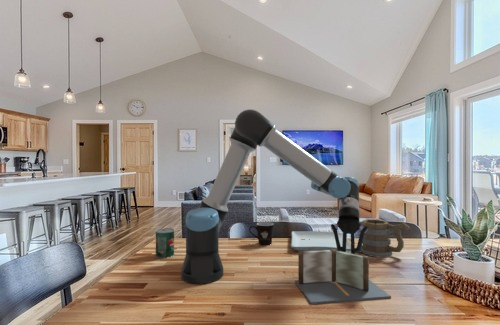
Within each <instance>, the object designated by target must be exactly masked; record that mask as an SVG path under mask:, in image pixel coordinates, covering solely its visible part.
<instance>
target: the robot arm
mask: <svg viewBox="0 0 500 325" xmlns="http://www.w3.org/2000/svg"><path fill="white" fill-rule="evenodd" d="M229 141H230V146H229V148H228V151H227V153H226V155H225V157H224V159H223V162H222V163H221V167H220V168H219V171H218V173H217V175H216V178H215V179H214V182H213V184H212V186H211V188H210V191H209V193H208V195H207V197H205V198H202V199H201V203H200V204H199V206H198V207H197V208H194V209H191V210H189V211H188V212H187V213H186V215H185V221H184V222H185V256H184V259H183V263H182V266H181V270H180V278H181V280H182V281H184V282H186V283H189V284H197V285H199V284H201V285H202V284H208V283H213V282H215V281H218V280H220V279H221V278H222V277H223V276H224V266H223V262H222V260H221V257H220V253H219V252H220V251H219V232H220V230H221V228H222V227H223V225H224V221H225V220H226V217H227V214H228V212H229V208H228V203H229V201H230V199H231V197H232V194H233V193H234V192H233V191H234V190H235V188H236V186H237V183H238V181H239V179H240V177H241V175H242V172H243V170H244V167H245V164H246V163H247V160H248V159H249V156H250V154H251V153H252V152H255V151H256V150H257V147H258V146H259V147H264V148H265V149H267V150H268V151H269V152H271V153H272V154H274V155H275V156H276V157H278V158H279V159H280V160H282V161H283V162H285V163H286V164H288V165H289V166H290V167H292V168H293V169H294V170H295V171H297V172H298V173H300V174H301V175H303V176H304V177H305V178H306V179H308V180H310V181H311V182H310V187H311V188H312V190H315V191H317V192H319V193H320V192H321V193H323V194H326V195H328V196H330V197H333V198H335V199H338V200H339V202H338V218H337V222H336V223H335V224H333V223H331V225H330V229H331V232H333V233H334V236H335V241H336V246H337V250H338V251H341V252H346V253H351V254H356V255H357V254H360V253H361V247H362V245H363V239H364V235H365V234H366V233H367V227H366V226H365V227H363V226H362V223H361V221H360V186H359V181H358V180H357V179H356V178H355V177H353V176H344V177H343V176H339V175H338V174H337V173H335V171H333V170H332V169H330V168H329V167H327V166H326V165H325V164H324V163H322V162H321V161H320V160H318V159H316V158H315V157H314V156H313V155H311V154H310V153H309V152H307V151H306V150H305V149H303V148H302V147H300V145H298V144H297V143H295V142H294V141H293V140H291V139H290V138H288V137H287V136H286V135H284V134H283V133H282V132H281V131H279V130H278V129H277V126H276V125H275V123H273V122H271V121H270V120H269V119H268V118H267V117H265V116H264V114H262V112H259V111H258V110H255V109H244V110H243V111H241V112H240V113H239V114H237V117H236V118H235V122H234V129H233V130H232V132H231V135H230V137H229ZM338 230H340V231H341V233H343V243H342V247H341V246H340V242H339V237H338V233H339V232H338ZM358 231H359V232H360V234H359V236H358V240H357V245H356V244H355V234H356V233H357V232H358ZM348 235H350V244H351V251H349V252H348V251H346V241H347V240H348V238H347V237H348ZM355 246H356V247H355Z"/></svg>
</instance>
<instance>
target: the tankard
mask: <svg viewBox="0 0 500 325" xmlns="http://www.w3.org/2000/svg"><path fill="white" fill-rule="evenodd" d="M361 225H362V226H363V227H365V226H366V227H367V233H366V234H365V235H364V239H363V243H362V247H361V251H360V253H363V255H366V254H367V255H366V256H370V255H371V257H374V256H375V258H388V257H390V256H392V255H393V253H401V252H402V250H403V249H404V246H405V245H404V244H405V242H404V239H403V237H402V231H401V230H402V229H404V230H406V231H407V230H409V229H410V227H411V226H409V225H408V224H406V223H405V222H402V223H399V224H394V225H393V224H390V223H389V222H388V221H386V220H383V219H382V220H381V219H374V218H372V219H370V218H369V219H368V218H367V219H364V220H362V223H361ZM392 230H394V235H395V239H396V241H397V246H395V247H394V246H393V245H391V239H390V234H391V231H392Z"/></svg>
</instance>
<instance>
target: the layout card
mask: <svg viewBox="0 0 500 325" xmlns="http://www.w3.org/2000/svg"><path fill="white" fill-rule="evenodd" d="M294 283H295V284H296V286H298V288H299V289H300V291H301V292H302V293H303V295H304V297H305V298H306V299H307V301H308V302H309V304H310V305H318V304H319V305H320V304H321V305H322V304H331V303H332V304H333V303H346V302H356V301H357V302H359V301H370V300H371V301H372V300H383V299H384V300H386V299H392V296H391V295H390V294H389V293H387V292H386V291H385V290H383V289H382V288H381V287H379V286H378V284H375V283H374V282H372V281H371V280H370V279H369V290H368V291H365V290H363V289H359V288H356V287H352V286H349V285H345V284H342V283H338V282H331V281H327V282H312V283H304V284H299V283H298V279H295V280H294Z"/></svg>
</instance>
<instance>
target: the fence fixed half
mask: <svg viewBox="0 0 500 325" xmlns="http://www.w3.org/2000/svg"><path fill="white" fill-rule="evenodd" d="M297 254H298V256H297V258H298V261H297V263H298V275H297V276H298V279H297V280H298V283H299V284H304V283H312V282H327V281H331V282H336V250H335V249H330V250H319V251H297Z"/></svg>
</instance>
